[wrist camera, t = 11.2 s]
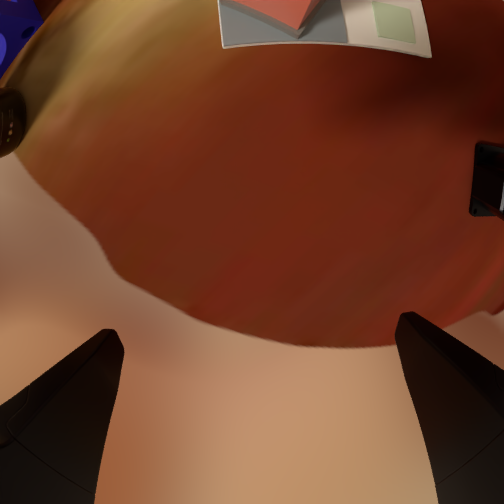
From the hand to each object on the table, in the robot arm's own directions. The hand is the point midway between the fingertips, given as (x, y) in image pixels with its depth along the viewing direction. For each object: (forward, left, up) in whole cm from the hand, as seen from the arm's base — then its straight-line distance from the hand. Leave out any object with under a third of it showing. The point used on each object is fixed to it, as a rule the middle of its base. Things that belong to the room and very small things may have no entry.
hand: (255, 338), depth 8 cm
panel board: (-6, -16, -13) cm, 21 cm away
